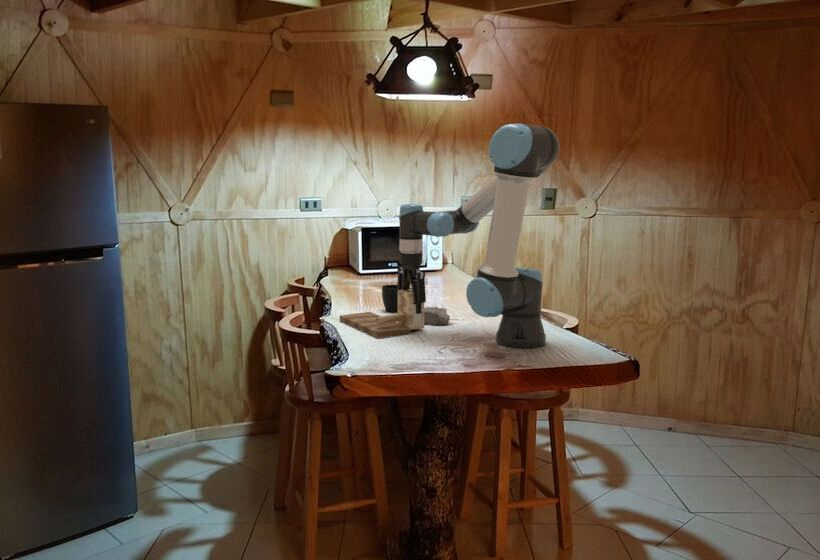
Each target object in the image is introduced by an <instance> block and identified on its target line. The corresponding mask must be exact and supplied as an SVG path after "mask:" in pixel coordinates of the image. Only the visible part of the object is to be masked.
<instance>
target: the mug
mask: <svg viewBox="0 0 820 560" xmlns="http://www.w3.org/2000/svg"><path fill="white" fill-rule="evenodd" d="M409 289H412V287H410V288H409ZM381 297H382V303H383V305H384V310H385V312H387V313H391V314H392V313H393V314H394V313H395V312H396V313H398V296H397V284H385V285H382V287H381Z"/></svg>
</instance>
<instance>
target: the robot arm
mask: <svg viewBox="0 0 820 560" xmlns="http://www.w3.org/2000/svg"><path fill="white" fill-rule="evenodd" d="M559 141H560V140H559V138H558V136H557V134H556V133H555V132H554V131H553V130H552V129H550V128H548V127H546V126H542V125H531V124H523V123H509V124H504V125H503V126H501V127H499V129H498V130H496V131H495V132H494V134H492V137H491V138H490V141H489V145H488V155H489V158H490V161H491V162H492V163H493V165H494V168H493V173H494V176H493V177H492V178H491V179H489V180H488V182H487V183H485V184H484V185H483V186H482V187H481V188H480V189H479V190H477V192H475V193H474V194H473V195H472V196H470V197H469V198H468V199H467V200H466V201H465V202H464V203H463V204H462V205H461V206H459V207H458V208H457V209H454V210H442V211H424V208H423V205H422V204H419V203H417V204H416V203H413V204H412V203H408V204H407V203H405V204H401V205H400V207H399V217H398V219H399V248H398V249H399V252H400V253H399V264H400V265H402V267H401V266H400V267H397V268H396V269H397V284H396V285H397V296H398V290H409V288H412V291H413V297H414V303H413V323H414V324H416V323H421V305H422V303H424V304H425V303H426V301H427V297H426V283H425V282H426V280H425V278H426V272H425V271H421V270H420V265H422V264H423V261H424V259H423V236H431V237H436V238H439V237H440V238H441V237H443V238H445V237H448V236H449V235H459V234H469V233H472V232H474V231H476V230H477V228H478V226H479V224H480V221H481V220H482V219H484V218H485V216H488V215H489V214H490V213H491V212H492V215H491V221H490V227H489V233H488V238H487V244H486V252H485V256H484V262H483V263H481V264H479V266H478V267H477V274H476V277H474V278H473V279H472V280H471V281H469V282H468V284H467V287H466V301H467V303H468V305H469V306H470V308H471V310H472V311H473V312H474V313H475V314H477V315H478V316H480V317H483V318H491V317H492V318H496V317H499V316H501V315H502V316H501V319H500V323H499V326H498V330H497V331H496V333H495V342H496V343H497V344H499V345H502V346H506V347H509V348H518V349H531V348H532V349H534V348H540V347H543V346H545V345H546V343H547V342H546V341H547V340H546V339H547V337H546V333H545V329H544V325H543V322H542V296H543V295H542V292H543V284H544V283H543V282H544V281H543V273H542V272H541V270H538V269H534V268H528V267H527V268H526V267H518V266H517V267H516V261H517V260H516V259H517V255H518V251H519V244H520V243H519V242H520V238H521V232H522V227H523V221H524V215H525V211H526V205H527V198H528V192H529V187H530V183H532V182H533V181H534V180H536V179H537V178H539V177H541V175H542V174H543V173H545V172H546V171H547V170H548V169H549V168H551V167H552V166H553V164H554V163H555V162H556V160H557V158H558V157H559V153H560V149H561V148H560V147H561V146H560V142H559Z"/></svg>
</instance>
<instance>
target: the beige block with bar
mask: <svg viewBox="0 0 820 560" xmlns="http://www.w3.org/2000/svg"><path fill="white" fill-rule="evenodd" d="M413 303H414V297H413V291H412V289H409V290H398V312H397V313H396V314H388V315H379V316H380V317H376V323H377V324H385V323H392V322H397V323H399V324H402V325H404V326H407V327H409V328H410V331H411V330H419V329H424V328H425V324H424V308H425V302H424V303H422V305H421V323H416V324H414V323H413Z"/></svg>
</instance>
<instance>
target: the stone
mask: <svg viewBox="0 0 820 560" xmlns="http://www.w3.org/2000/svg"><path fill="white" fill-rule="evenodd" d="M450 317H451V316H450V315H449V314H448V313H447V308H445V307H440V308H439V307H437V306H426V307H424V325H432V326H440V325H441V326H446V325H449V323H450Z"/></svg>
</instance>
